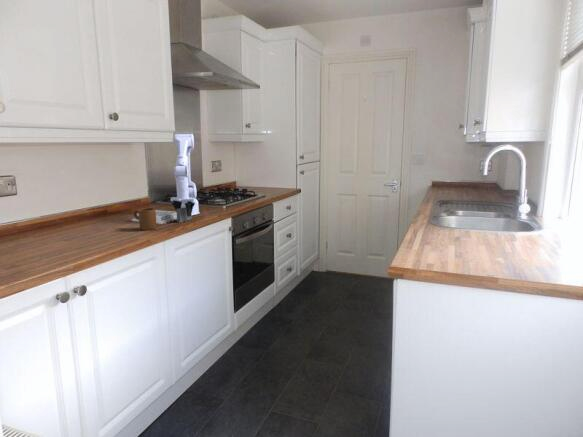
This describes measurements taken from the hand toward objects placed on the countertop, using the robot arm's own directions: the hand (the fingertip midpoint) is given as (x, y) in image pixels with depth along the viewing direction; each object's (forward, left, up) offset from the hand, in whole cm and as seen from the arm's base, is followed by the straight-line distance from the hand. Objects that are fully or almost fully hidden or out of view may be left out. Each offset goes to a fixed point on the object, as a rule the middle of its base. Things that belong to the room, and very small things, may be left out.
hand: (184, 215), depth 211 cm
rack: (+2, -16, -3) cm, 16 cm away
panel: (0, 0, -3) cm, 3 cm away
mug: (+22, -6, -3) cm, 23 cm away
